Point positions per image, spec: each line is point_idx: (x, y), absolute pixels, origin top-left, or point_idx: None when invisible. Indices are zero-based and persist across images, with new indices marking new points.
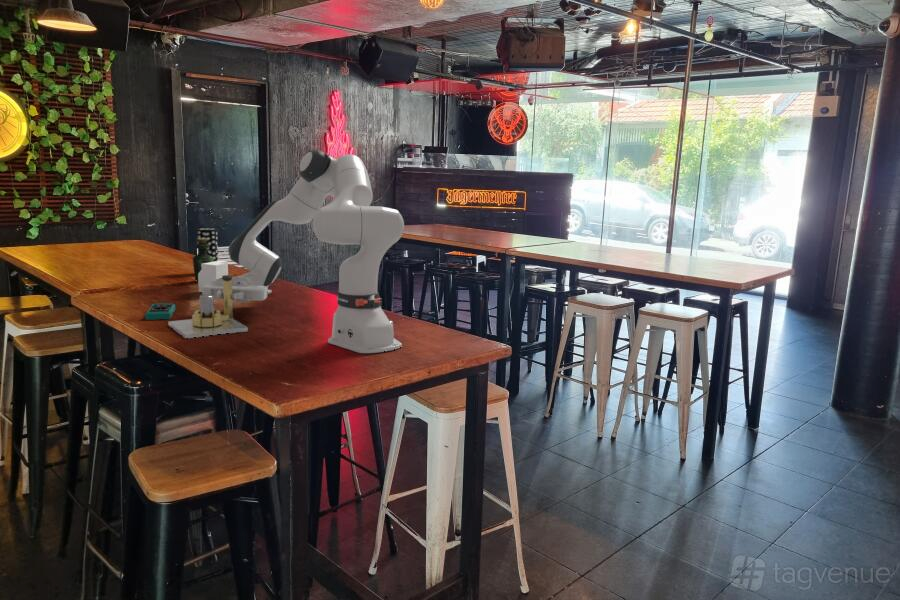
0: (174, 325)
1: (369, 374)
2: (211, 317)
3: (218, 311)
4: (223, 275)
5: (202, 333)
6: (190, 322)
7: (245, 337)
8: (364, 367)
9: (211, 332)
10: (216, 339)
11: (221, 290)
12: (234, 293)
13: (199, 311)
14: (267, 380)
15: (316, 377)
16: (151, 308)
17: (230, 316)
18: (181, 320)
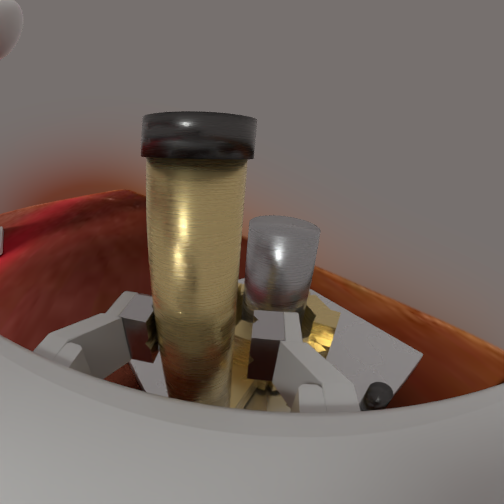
0: (367, 324)
1: (38, 207)
2: (241, 293)
3: (235, 331)
4: (250, 118)
5: (241, 281)
6: (350, 360)
7: (125, 284)
8: (30, 214)
9: None
10: None
11: (321, 406)
12: (131, 312)
13: (318, 312)
14: (124, 200)
15: (81, 203)
16: None
17: None
18: (402, 376)
